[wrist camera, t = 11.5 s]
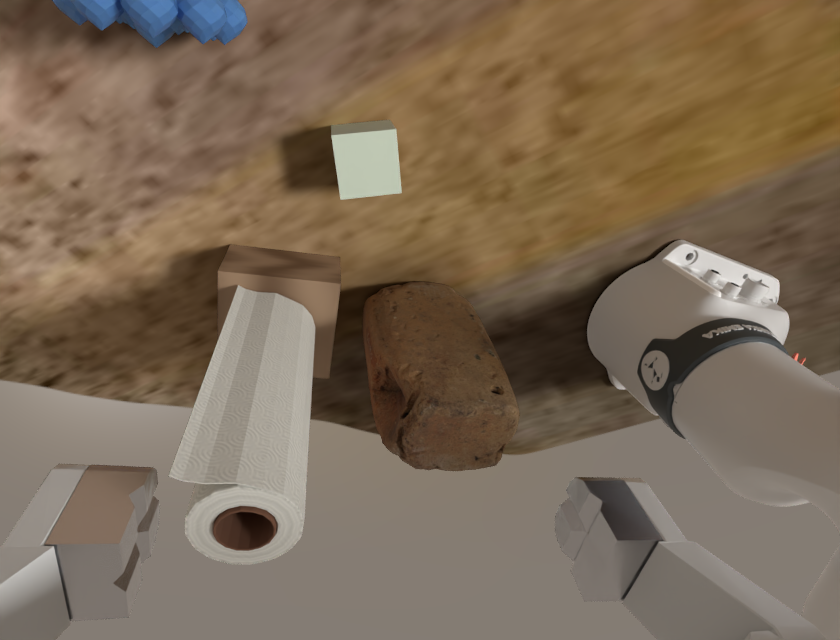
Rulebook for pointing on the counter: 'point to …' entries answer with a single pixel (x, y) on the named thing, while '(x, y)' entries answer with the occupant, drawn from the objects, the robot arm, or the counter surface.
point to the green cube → (366, 159)
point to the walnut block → (287, 289)
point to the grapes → (162, 17)
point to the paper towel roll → (251, 433)
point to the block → (436, 379)
